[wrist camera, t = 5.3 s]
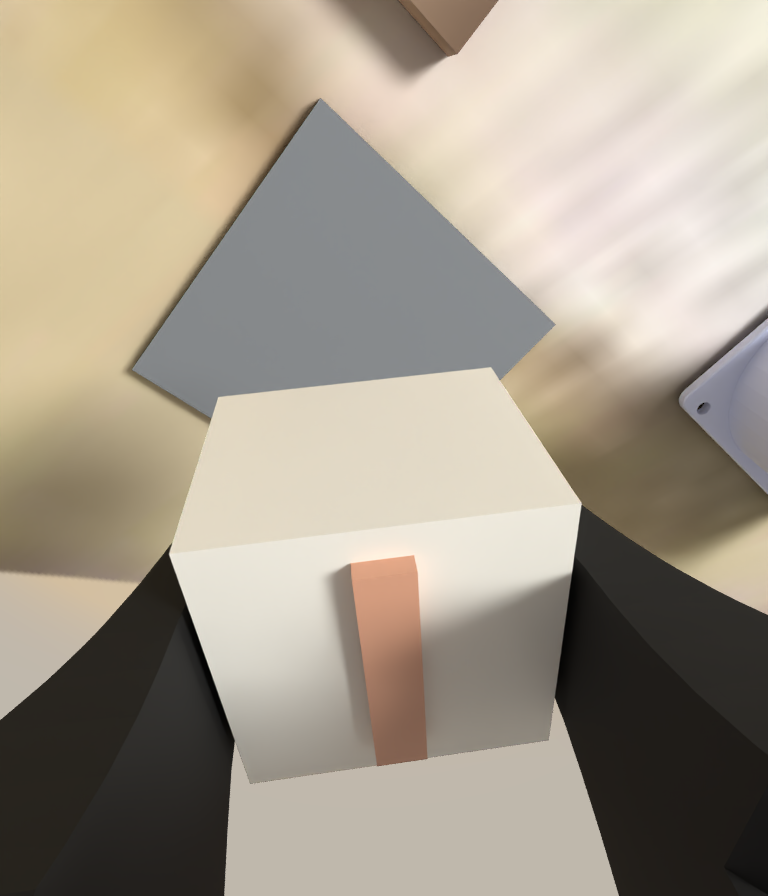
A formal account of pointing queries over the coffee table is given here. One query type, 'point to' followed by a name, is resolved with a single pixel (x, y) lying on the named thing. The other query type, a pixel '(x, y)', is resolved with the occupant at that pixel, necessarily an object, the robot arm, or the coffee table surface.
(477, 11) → the post stand
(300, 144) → the mat
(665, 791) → the robot arm
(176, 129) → the coffee table surface
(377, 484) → the cream cube
